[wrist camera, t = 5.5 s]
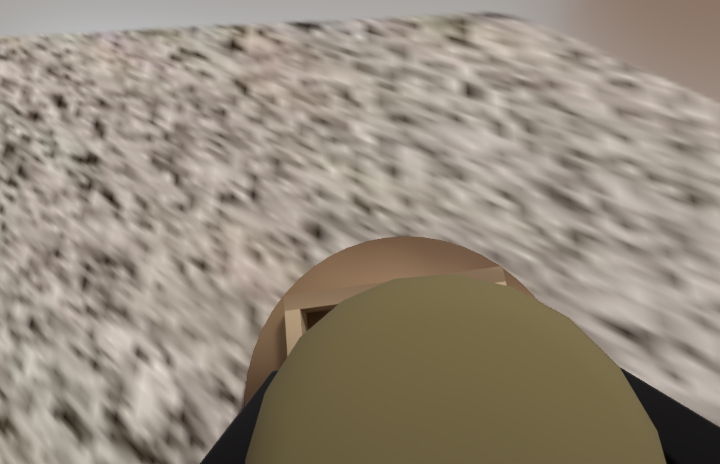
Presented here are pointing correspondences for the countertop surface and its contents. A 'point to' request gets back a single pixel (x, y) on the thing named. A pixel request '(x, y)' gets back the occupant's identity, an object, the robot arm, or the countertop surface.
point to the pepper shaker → (450, 385)
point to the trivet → (359, 289)
